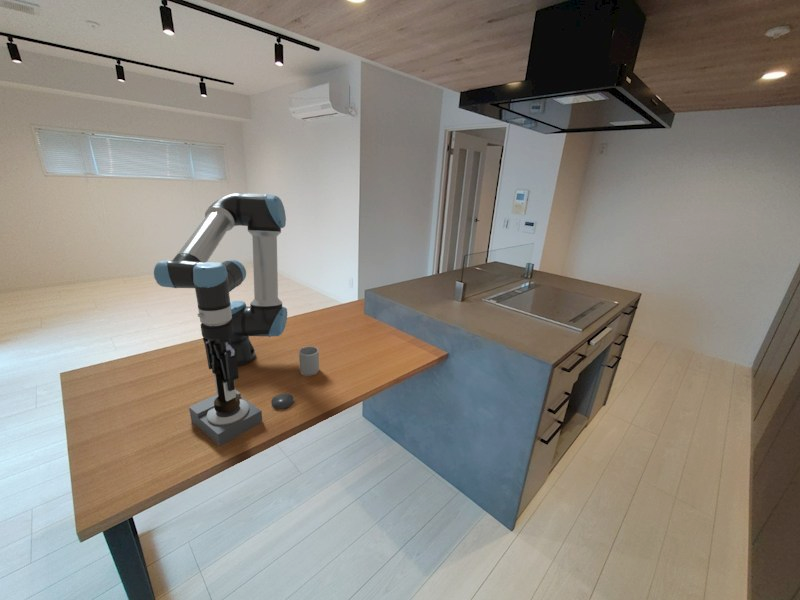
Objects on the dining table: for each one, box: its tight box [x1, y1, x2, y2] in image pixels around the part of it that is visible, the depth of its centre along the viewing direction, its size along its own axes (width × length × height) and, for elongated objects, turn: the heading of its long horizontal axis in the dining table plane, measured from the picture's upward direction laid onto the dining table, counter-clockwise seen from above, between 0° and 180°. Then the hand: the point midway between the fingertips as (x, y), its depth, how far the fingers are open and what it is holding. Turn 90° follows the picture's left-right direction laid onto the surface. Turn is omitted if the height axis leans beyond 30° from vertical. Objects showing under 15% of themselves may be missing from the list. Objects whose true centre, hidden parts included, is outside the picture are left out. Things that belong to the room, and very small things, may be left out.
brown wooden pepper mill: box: [214, 354, 240, 413], centre depth 95 cm, size 7×6×18 cm
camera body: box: [188, 389, 263, 447], centre depth 100 cm, size 16×13×5 cm
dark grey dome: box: [270, 392, 295, 411], centre depth 110 cm, size 7×7×1 cm
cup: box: [298, 345, 320, 377], centre depth 129 cm, size 7×10×9 cm
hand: (226, 395), depth 96 cm, fingers closed on brown wooden pepper mill, 4 cm apart
